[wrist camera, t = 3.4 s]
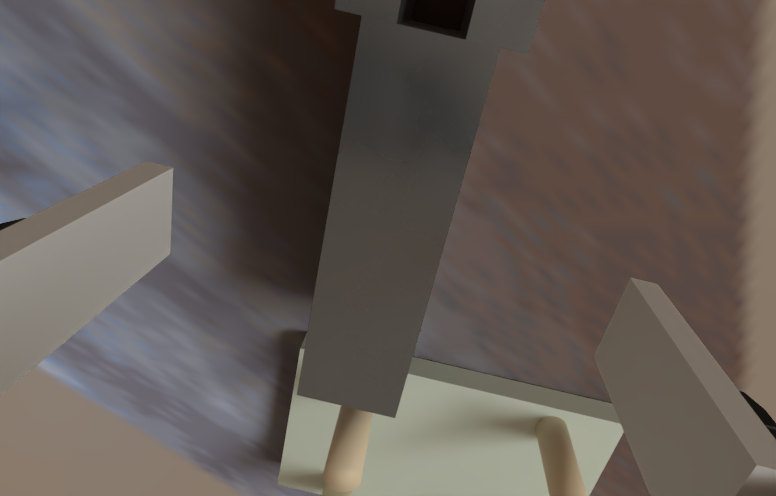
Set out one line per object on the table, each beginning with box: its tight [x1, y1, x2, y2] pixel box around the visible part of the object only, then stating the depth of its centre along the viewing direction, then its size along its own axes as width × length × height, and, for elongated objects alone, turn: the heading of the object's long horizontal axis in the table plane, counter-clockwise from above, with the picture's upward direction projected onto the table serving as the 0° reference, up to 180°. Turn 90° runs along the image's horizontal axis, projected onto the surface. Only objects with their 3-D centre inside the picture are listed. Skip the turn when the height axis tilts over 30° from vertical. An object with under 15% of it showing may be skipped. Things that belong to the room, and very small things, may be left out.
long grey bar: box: [297, 0, 545, 418], centre depth 20 cm, size 17×6×7 cm, turn 168°
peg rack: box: [278, 334, 624, 496], centre depth 26 cm, size 17×10×8 cm, turn 78°
